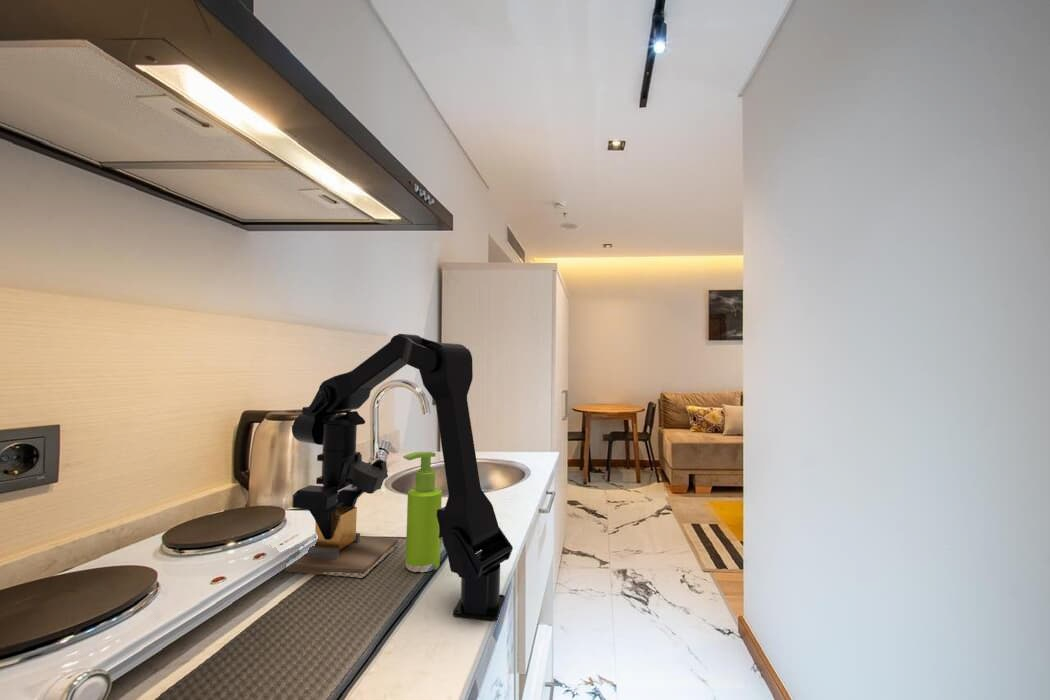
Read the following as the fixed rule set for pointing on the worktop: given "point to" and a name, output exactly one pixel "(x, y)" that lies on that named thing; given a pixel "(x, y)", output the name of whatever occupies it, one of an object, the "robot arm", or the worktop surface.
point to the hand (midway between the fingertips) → (336, 533)
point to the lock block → (340, 529)
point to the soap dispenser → (423, 515)
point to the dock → (344, 556)
